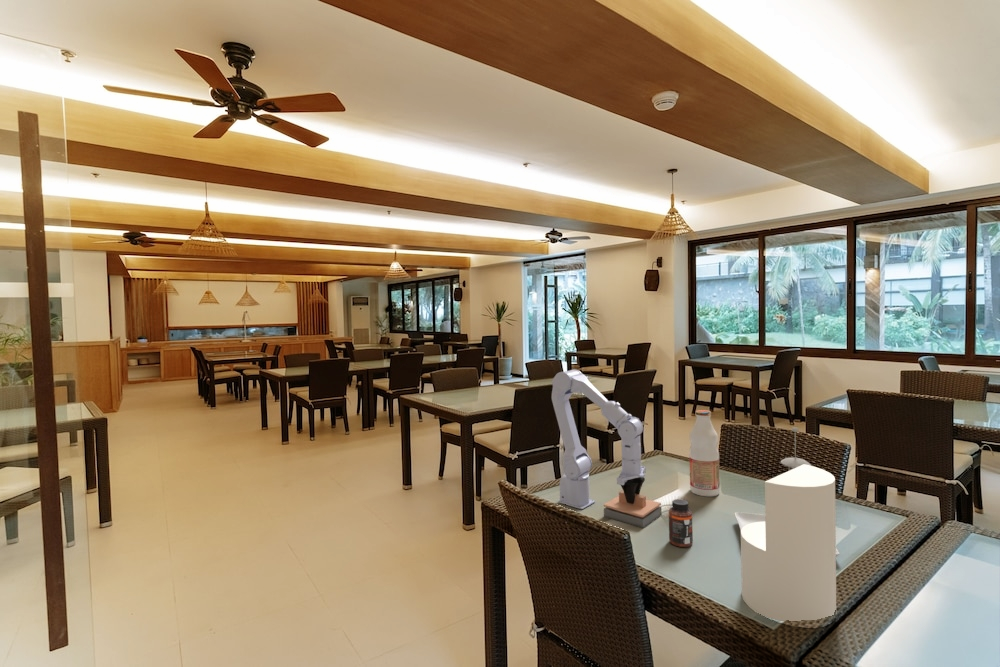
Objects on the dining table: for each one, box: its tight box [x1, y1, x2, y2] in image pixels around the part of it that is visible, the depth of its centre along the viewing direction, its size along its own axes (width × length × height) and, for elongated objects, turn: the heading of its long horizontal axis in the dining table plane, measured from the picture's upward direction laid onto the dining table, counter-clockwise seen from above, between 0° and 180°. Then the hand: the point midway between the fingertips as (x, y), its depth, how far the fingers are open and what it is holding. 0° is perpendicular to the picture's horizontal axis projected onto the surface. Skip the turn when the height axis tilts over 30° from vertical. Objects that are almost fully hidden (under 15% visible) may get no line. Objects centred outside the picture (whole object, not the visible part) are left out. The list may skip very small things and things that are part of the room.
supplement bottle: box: [668, 498, 694, 548], centre depth 131 cm, size 6×6×11 cm
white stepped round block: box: [740, 464, 837, 621], centre depth 103 cm, size 17×17×28 cm
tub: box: [603, 505, 662, 529], centre depth 150 cm, size 13×12×2 cm
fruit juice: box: [688, 409, 721, 497], centre depth 167 cm, size 9×9×28 cm
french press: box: [780, 426, 812, 471], centre depth 153 cm, size 10×12×25 cm
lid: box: [603, 489, 662, 517], centre depth 150 cm, size 13×12×4 cm
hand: (632, 501), depth 150 cm, fingers closed on lid, 2 cm apart
